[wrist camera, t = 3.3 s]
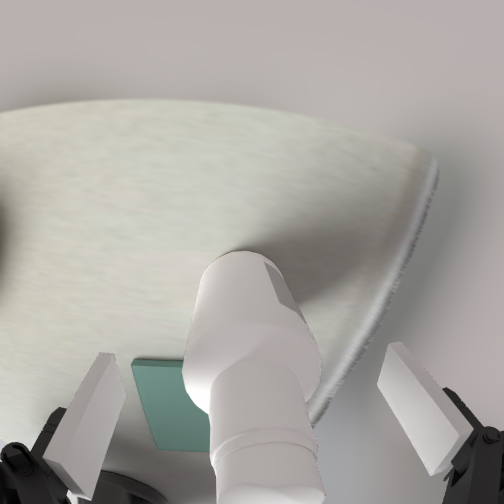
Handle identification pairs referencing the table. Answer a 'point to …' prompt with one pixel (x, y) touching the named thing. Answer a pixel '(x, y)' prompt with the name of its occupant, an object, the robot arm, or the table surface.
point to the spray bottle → (254, 382)
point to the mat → (170, 407)
